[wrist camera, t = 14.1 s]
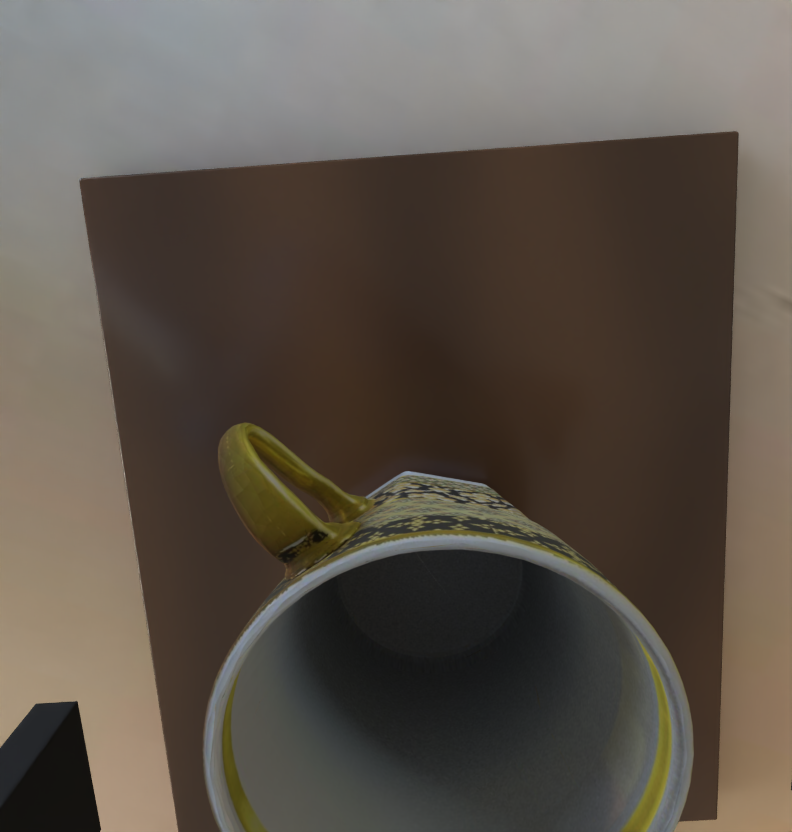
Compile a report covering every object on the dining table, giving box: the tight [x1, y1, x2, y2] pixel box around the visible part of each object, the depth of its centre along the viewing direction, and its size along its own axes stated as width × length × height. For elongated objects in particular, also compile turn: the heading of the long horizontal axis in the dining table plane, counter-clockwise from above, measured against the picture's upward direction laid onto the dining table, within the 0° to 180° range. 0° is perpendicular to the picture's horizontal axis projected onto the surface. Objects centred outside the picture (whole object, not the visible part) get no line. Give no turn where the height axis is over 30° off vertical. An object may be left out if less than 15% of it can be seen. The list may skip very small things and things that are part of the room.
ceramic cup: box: [202, 422, 694, 832], centre depth 19 cm, size 13×10×10 cm
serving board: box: [79, 131, 739, 832], centre depth 24 cm, size 20×24×1 cm
